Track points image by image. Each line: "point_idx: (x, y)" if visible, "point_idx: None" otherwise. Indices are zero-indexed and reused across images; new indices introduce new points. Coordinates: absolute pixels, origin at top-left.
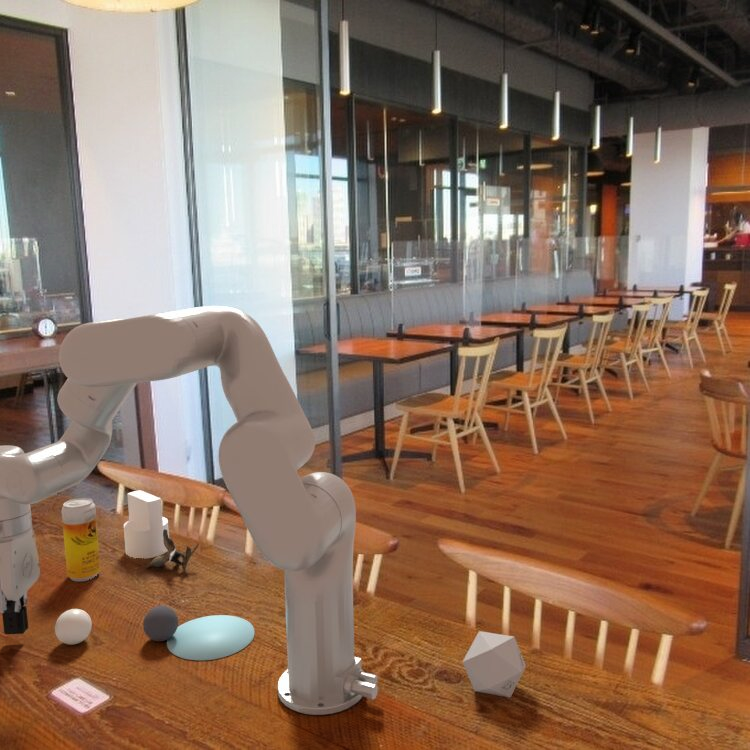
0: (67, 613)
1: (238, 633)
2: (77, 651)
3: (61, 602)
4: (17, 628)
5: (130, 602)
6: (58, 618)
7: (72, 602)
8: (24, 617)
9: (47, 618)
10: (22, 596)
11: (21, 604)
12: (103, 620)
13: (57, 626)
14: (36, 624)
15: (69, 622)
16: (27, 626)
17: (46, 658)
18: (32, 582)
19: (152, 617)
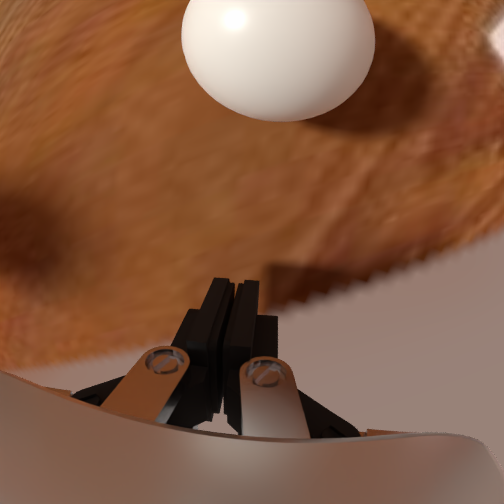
0: (308, 15)
1: None
2: None
3: (13, 232)
4: (265, 315)
5: (31, 19)
6: (302, 85)
7: (10, 198)
8: (224, 314)
9: (85, 241)
10: (168, 403)
11: (189, 371)
12: (115, 27)
13: (349, 88)
14: (122, 265)
15: (366, 13)
16: (220, 281)
17: (390, 142)
18: (85, 432)
19: None
